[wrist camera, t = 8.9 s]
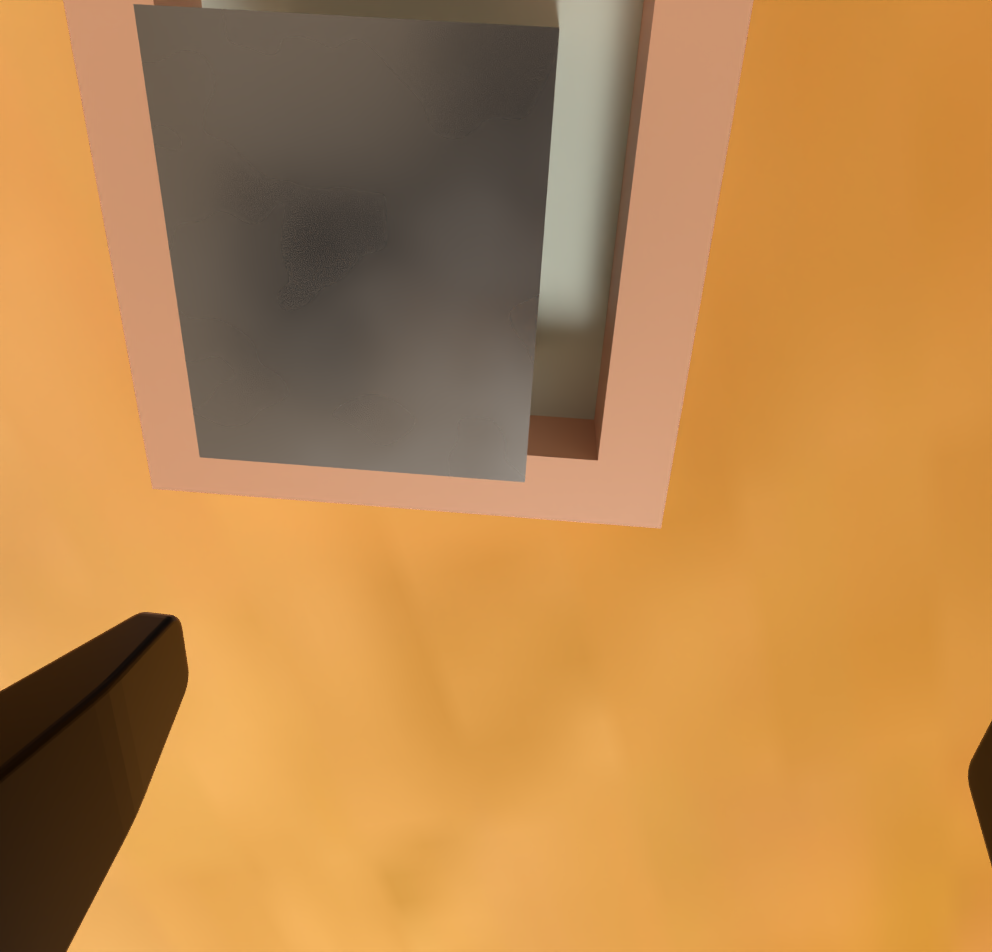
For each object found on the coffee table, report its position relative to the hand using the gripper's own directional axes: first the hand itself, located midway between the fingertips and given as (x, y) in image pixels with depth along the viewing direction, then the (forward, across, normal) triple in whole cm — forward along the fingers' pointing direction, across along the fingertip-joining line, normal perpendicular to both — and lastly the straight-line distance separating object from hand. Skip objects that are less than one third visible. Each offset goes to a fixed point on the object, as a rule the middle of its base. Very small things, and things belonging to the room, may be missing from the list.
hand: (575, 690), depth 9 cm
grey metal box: (+10, +4, -3) cm, 11 cm away
